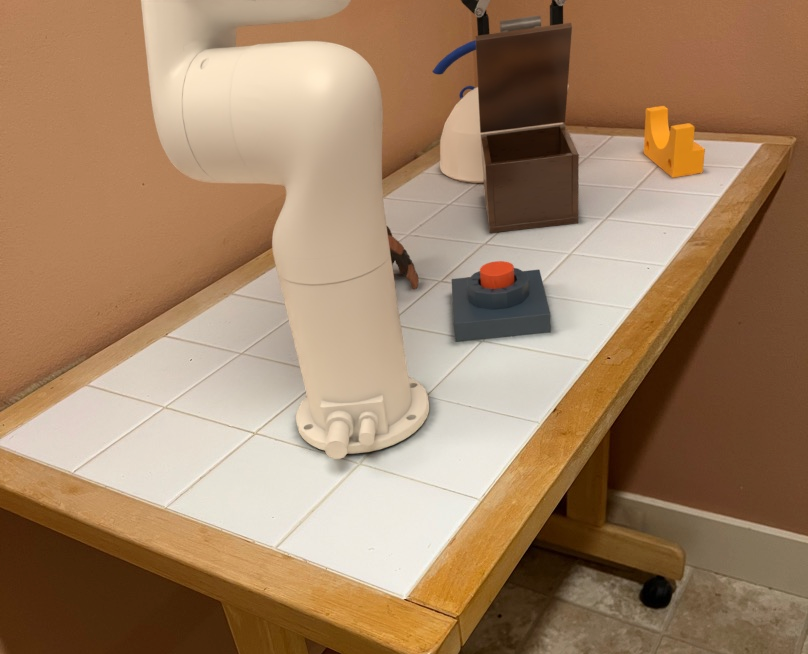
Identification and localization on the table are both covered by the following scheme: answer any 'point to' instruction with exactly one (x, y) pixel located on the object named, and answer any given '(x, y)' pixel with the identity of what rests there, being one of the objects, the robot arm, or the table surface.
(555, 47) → the box lid
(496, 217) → the lidded box
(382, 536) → the table surface
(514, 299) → the control block
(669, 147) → the pipe clamp
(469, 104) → the kettle
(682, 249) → the table surface
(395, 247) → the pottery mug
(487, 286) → the button
